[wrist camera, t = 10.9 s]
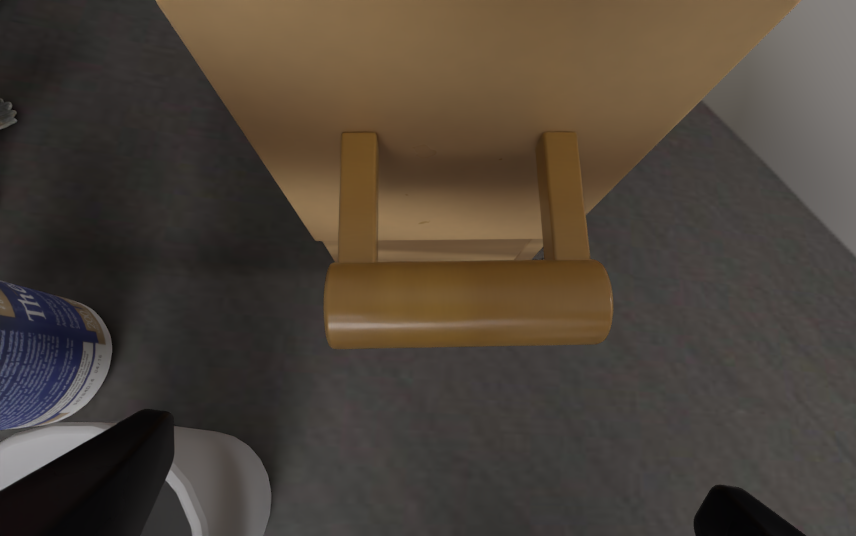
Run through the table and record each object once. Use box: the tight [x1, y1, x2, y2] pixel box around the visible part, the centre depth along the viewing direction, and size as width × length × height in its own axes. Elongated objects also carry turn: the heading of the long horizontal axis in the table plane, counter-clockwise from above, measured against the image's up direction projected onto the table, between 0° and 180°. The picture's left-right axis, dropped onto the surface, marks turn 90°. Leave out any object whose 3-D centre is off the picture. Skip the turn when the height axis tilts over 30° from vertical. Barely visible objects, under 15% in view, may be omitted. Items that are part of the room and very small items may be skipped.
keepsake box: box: [322, 239, 543, 262], centre depth 21 cm, size 12×9×5 cm
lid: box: [155, 0, 801, 349], centre depth 10 cm, size 12×9×5 cm
